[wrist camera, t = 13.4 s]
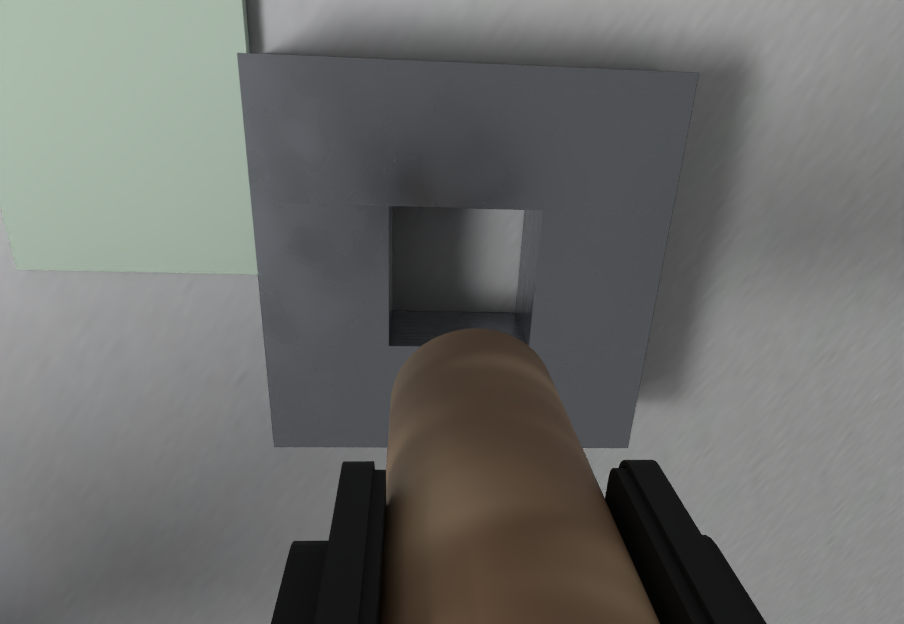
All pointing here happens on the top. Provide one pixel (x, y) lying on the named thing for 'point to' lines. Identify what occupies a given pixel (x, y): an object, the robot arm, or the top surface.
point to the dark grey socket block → (455, 186)
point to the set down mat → (125, 136)
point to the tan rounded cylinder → (495, 497)
